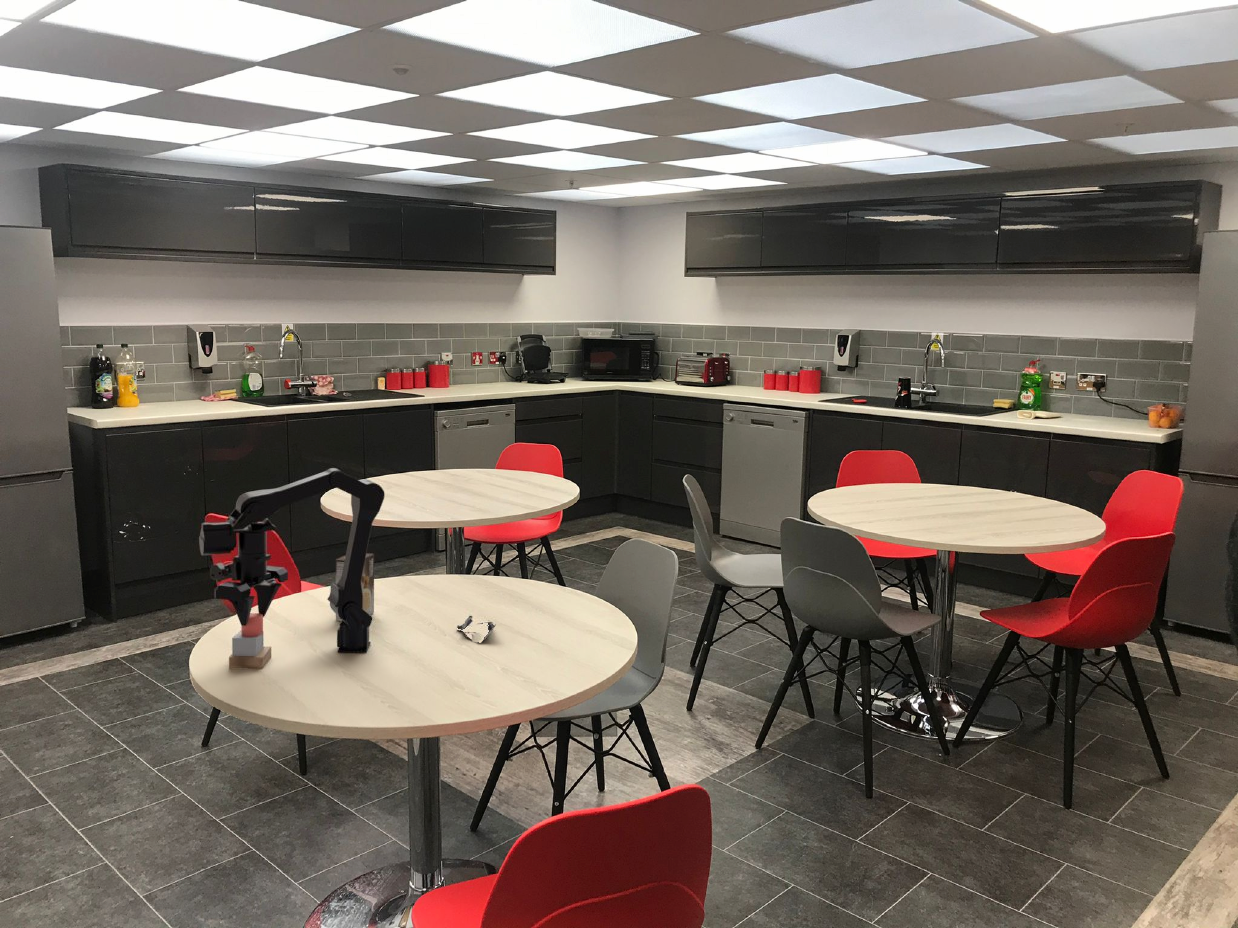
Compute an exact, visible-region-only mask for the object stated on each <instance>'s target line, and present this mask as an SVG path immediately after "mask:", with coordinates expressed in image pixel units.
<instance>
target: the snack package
mask: <svg viewBox="0 0 1238 928" xmlns="http://www.w3.org/2000/svg"><path fill="white" fill-rule="evenodd" d="M487 621H488V622H486V623H488V625H489V626H488V625H487V626H488V630H489V632H488V634H487V635H486V636H485V637H484V638H485V639H487V638H488V636H489V635H490V634H491V632H493V631H494V628H495V627H496V625H497V624H496V623H495V624H494V622H493V621H490V620H487ZM472 623H473V615H469V616H468V617H467V619H465V621H464V623H463V624H461V625H456V629H457V628H458V629H461V630H463V629H465V628H466V627H467V626H471V624H472ZM483 623H484V622H481V623H478V624H483ZM464 635H465V636H466V634H464Z"/></svg>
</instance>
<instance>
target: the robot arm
mask: <svg viewBox="0 0 1238 928" xmlns="http://www.w3.org/2000/svg"><path fill="white" fill-rule="evenodd" d="M334 489H339V490H340V491H342V492H345V493H346V494H349V495H350V496H351V498H350V506H351V514H352V522H351V527H350V530H349V531H350V532H349V536H348V537H349V538H348V543H347V547H346V552H345V555H346V557H345V562H344V567H343V572H342V576H341V579H340V580H339V582H338V583H337V584H336V583H334V582H332V583H330V592H329V596H328V597H327V599H326V600H327V601H328V602H329V607H330V609H331V610H332V612H333V613H334V614H335V615H336V614H337V615H338V616H339V618H340V619H341V620H342V621H340V623H339V627H338V628H337V630H336V636H337V637H336V647H337V648H338V649H337V652H338V653H367V652H368V651H369V648H370V646H371V643H372V642H371V641H370V627H371V625H372V621H373V620H374V619H373V618H374V617H372V615H369V614H368V613H367V612H366V611H364V610H363V593H362V586H361V579H362V574H363V569H364V563H365V558H366V553H367V552H368V548H369V542H370V537H371V532H372V527H373V523H374V520H375V519H376V518H377V516H378V514H380V513H379V512H381V508H382V505H383V503H384V500H385V490H384V488H383V487H382V486H381V485H379V484H378V483H376V482H374V481H372V480H370V479H367V478H365V479H364V478H363V479H357V478H355V477H354V476H351V475H349V474H346V473H344V472H343V471H342V470H341V469H340V470H339V469H338V468H335V467H332V468H331V467H330V468H328V469H326V470H325V471H322V472H320V473H317V474H314V475H311V476H308V477H305V478H303V479H299V480H296V481H294V482H291V483H289V484H285V485H282V486H280V487H276V488H269V489H267V488H266V489H259V490H254V491H253V490H252V491H248V492H244V493H242V494H240V495H239V496H238V498H237V500H236V502H235V503H236V504H235V508H234V509H233V511H232V512H231V513H230V514H229V515H228V517H227V518H226V520H225V522H202V523H201V529H200V531H199V532H200V535H199V538H198V543H199V544H198V545H199V551H200V555H201V556H212V555H213V556H215V555H225V554H231V553H232V551H235V549H236V548H238V549H237V551H238V552H237V555H236V556H235V555H234V557H233V558H232V562H231V563H230V562H228V563H227V564H224V563H222V562H217V563H214V564H213V565H210V571H209V576H210V578H211V579H212V580H213V581H215V582H216V583H217V584H218V583H221V582H222V583H221V584H218V585H217V586H216V587H215V588H214V598H215V599H218V600H225V601H229V602H230V603H231V605H232V606H233V608H234V610H235V613H236V615H237V618H238V620H239V624H240V625H242V626H246V625H247V623H248V620H249V616H250V613H251V611H252V608H253V605H254V600H255V597H256V599H257V610H258V613H259V614H262V615H263V618H264V617H266V615H267V612H268V611H269V608H270V606H271V604H272V602H273V600H274V599H275V596H276V595H277V592H278V591H279V589H280V588H281V587H282V583H284V582H286V581H288V580H289V571H288V570H287V569H286V567H284V566H283V567H281V566H273V565H267V563H268V561H269V560H271V559H272V558H271V557H272V555H271V554H268V553H267V547H268V546H267V544H268V543H267V532H269V531H270V532H272V531H276V530H277V527H276V526H275V525H274V524H272V522H271V521H270V520H269V518H270V517H271V516H273V515H275V514H276V513H277V512H279V511H280V510H281V509H283V508H285V507H286V506H289V505H292V504H294V503H297V502H300V501H303V500H305V499H309V498H312V497H313V496H317V495H319V494H322V493H325V492H327V491H331V490H334ZM228 579H231V581H226V580H228ZM223 581H226V582H223ZM238 581H239V582H238ZM277 581H278V582H277ZM251 589H253V590H254V591H255V592H256V596H255V595H254V596H253V595H251Z"/></svg>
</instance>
